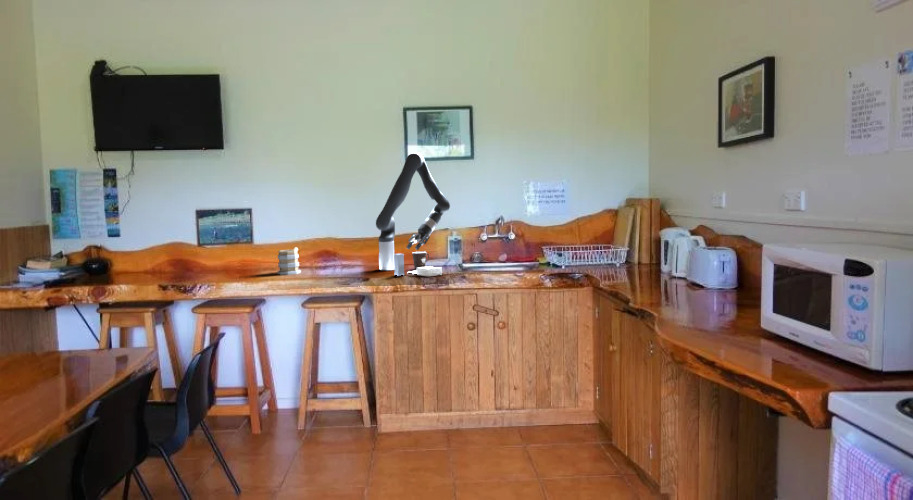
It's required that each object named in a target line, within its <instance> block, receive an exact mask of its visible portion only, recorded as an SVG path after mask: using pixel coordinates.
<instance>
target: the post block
mask: <svg viewBox="0 0 913 500" xmlns="http://www.w3.org/2000/svg"><path fill="white" fill-rule="evenodd" d="M408 273H412V274H411V275H414V274H417V276H422V277H428V278H429V277H434V276H435V277H436V276H442V275H443V267H441V266H440V267H439V266H438V267H434V266H433V265H432V266H431V265H429V266H427V265H426V266H425V267H419V268H417V269H416V270H412V271H407V274H408Z"/></svg>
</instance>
